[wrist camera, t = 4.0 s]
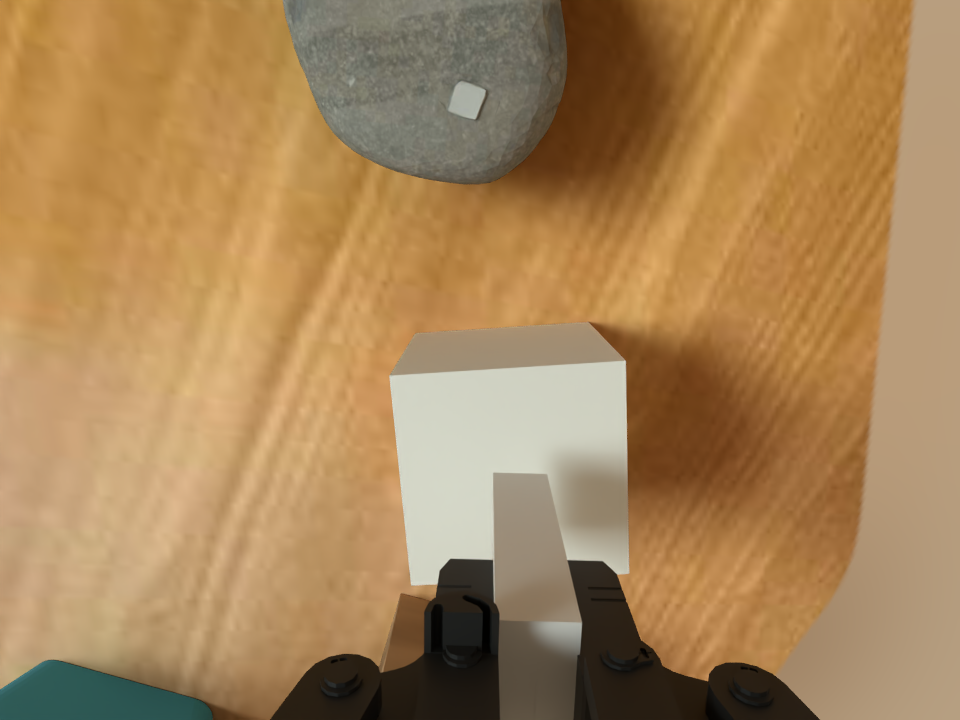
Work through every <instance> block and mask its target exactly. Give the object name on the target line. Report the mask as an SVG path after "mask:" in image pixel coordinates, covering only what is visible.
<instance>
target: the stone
mask: <svg viewBox="0 0 960 720" xmlns="http://www.w3.org/2000/svg"><path fill="white" fill-rule="evenodd" d="M283 5H284V10H285V16H286V20H287V23H288V27H289V30H290V33H291V37H292V40H293V44H294V48H295V50H296V53H297V56H298V59H299V61H300V64H301V66H302V68H303V70H304V72H305V75H306V78H307V80H308V83H309V86H310V89H311V91H312V93H313V96H314V98H315V101H316V103H317V105H318V108H319V110H320V112H321V114H322V115H323V117H324V119H325V121H326V123H327V124H328V126H329V127H330V129H331V130H332V131H333V133H334V134H335V135H336V136H337V137H338V138H339V139H340V140H341V141H342V142H343V143H345V144H346V145H347V146H348V147H350V148H351V149H352V150H353V151H355V152H356V153H358V154H360V155H361V156H363V157H365V158H367V159H369V160H371V161H373V162H375V163H377V164H379V165H381V166H383V167H386V168H389V169H391V170H394V171H397V172H401V173H404V174H408V175H411V176H415V177H419V178H424V179H429V180H435V181H442V182H449V183H457V184H483V183H490V182H493V181H495V180H497V179H499V178H501V177H503V176H504V175H506V174H507V173H508V172H510V171H511V170H512V169H514V168H515V167H516V166H518V165H519V164H520V163H521V162H522V161H524V160H525V159H526V158H527V157H528V156H529V155H530V153H531V152H532V151H533V150H534V149H535V148H536V146H537V145H538V143H539V141H540V140H541V139H542V138H543V136H544V135H545V134H546V132H547V130H548V129H549V127H550V125H551V123H552V121H553V119H554V116H555V114H556V111H557V107H558V105H559V103H560V101H561V98H562V94H563V90H564V86H565V82H566V76H567V45H566V36H565V27H564V20H563V14H562V8H561V0H283Z"/></svg>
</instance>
